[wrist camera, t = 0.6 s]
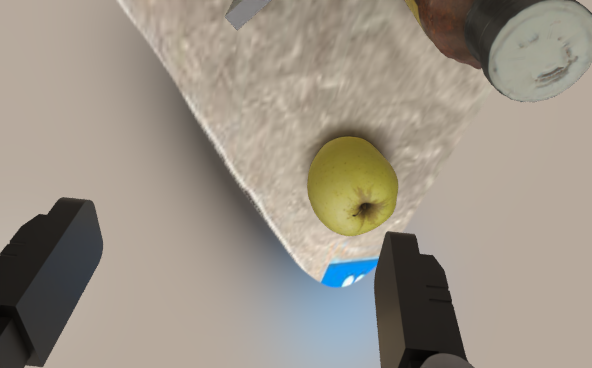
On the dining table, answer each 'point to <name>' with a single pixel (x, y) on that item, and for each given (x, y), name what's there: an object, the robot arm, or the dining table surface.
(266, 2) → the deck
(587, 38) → the sauce bottle
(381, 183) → the apple
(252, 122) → the dining table surface
